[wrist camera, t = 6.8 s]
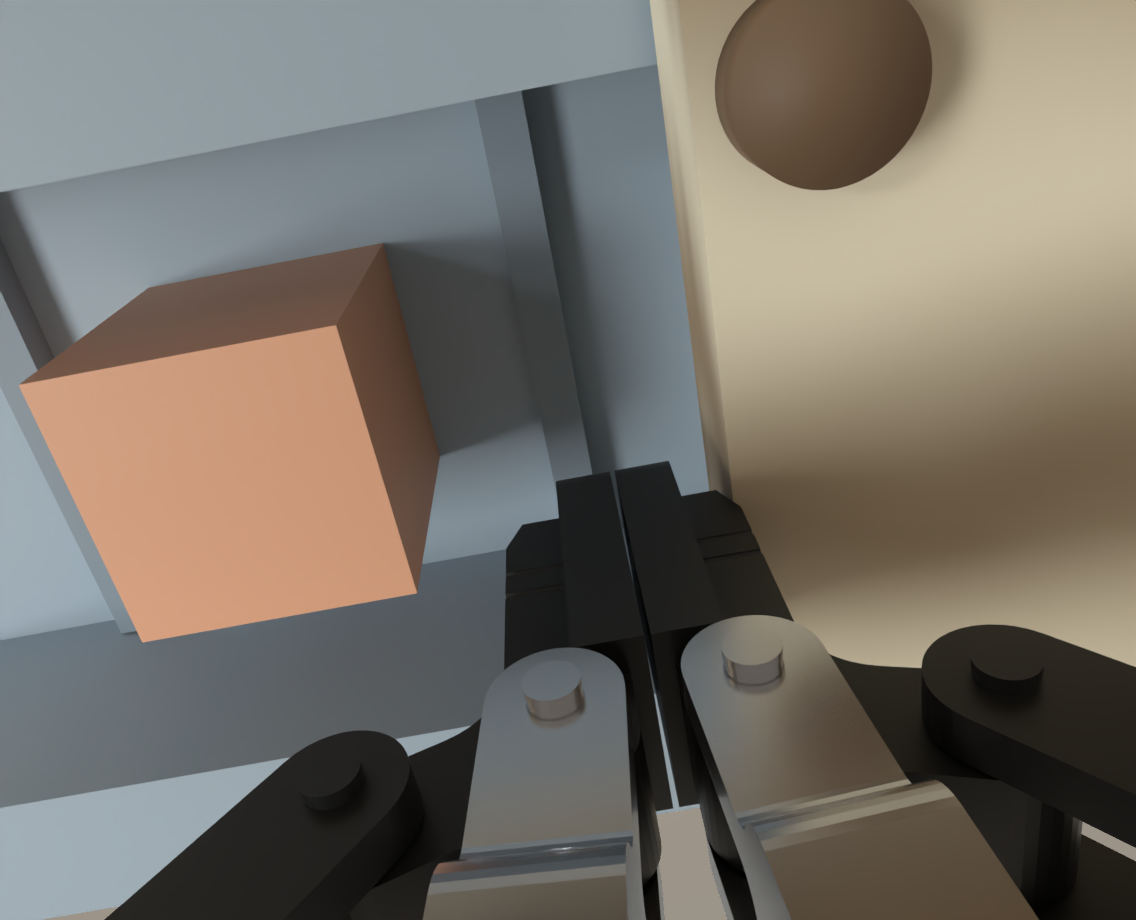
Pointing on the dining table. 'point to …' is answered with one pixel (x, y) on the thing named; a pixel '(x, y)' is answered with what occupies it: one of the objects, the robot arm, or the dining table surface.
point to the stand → (436, 334)
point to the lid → (916, 306)
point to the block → (248, 443)
